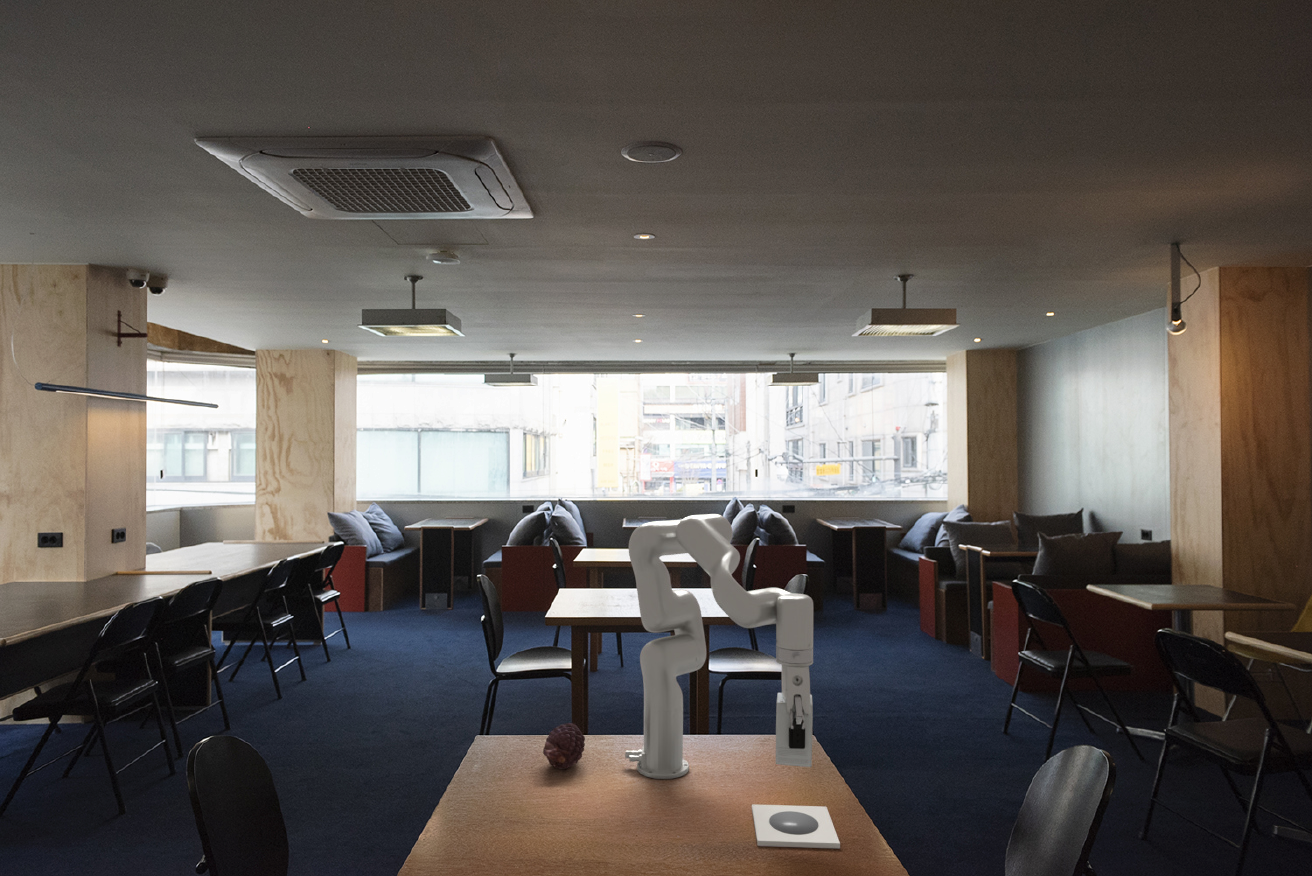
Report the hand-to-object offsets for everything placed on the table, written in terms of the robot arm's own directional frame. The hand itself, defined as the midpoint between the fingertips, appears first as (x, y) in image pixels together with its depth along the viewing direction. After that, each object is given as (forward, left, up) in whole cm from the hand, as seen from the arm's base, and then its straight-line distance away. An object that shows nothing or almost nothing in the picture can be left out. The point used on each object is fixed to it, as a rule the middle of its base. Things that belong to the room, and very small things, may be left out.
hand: (794, 740), depth 164 cm
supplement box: (0, 0, -4) cm, 4 cm away
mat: (0, 0, -18) cm, 18 cm away
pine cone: (-52, +29, -18) cm, 62 cm away
